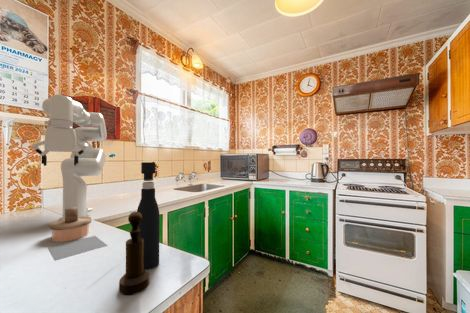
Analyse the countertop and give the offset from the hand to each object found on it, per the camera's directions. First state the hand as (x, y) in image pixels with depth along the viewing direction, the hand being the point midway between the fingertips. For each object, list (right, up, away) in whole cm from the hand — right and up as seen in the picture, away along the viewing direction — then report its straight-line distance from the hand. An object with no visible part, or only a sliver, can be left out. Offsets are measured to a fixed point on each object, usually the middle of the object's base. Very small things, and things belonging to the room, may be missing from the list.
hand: (60, 165), depth 85 cm
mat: (+19, -28, -15) cm, 37 cm away
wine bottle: (+48, -28, -26) cm, 62 cm away
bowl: (+9, -28, -5) cm, 30 cm away
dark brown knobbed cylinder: (+49, -28, -36) cm, 67 cm away
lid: (+9, -23, -5) cm, 25 cm away
